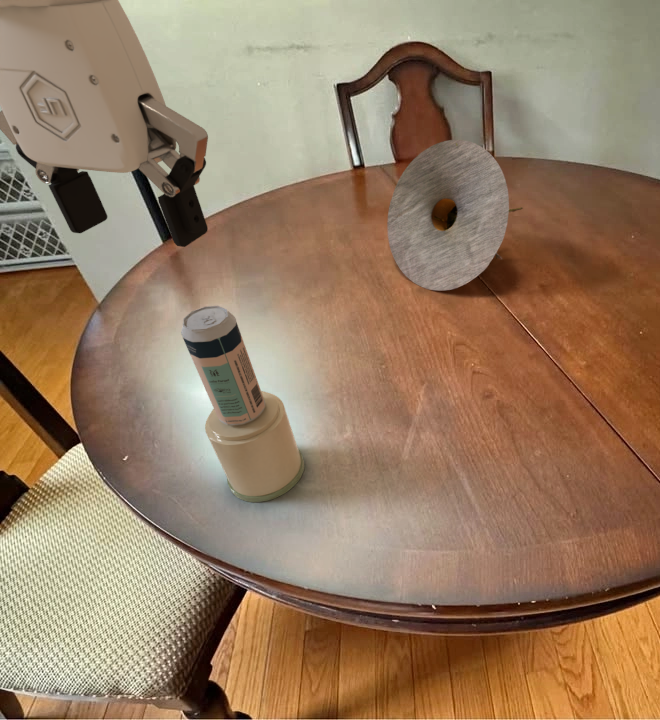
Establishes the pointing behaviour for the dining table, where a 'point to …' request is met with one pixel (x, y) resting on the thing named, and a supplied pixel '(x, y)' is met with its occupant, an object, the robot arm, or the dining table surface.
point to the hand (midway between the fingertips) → (140, 232)
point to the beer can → (223, 364)
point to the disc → (448, 215)
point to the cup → (258, 453)
